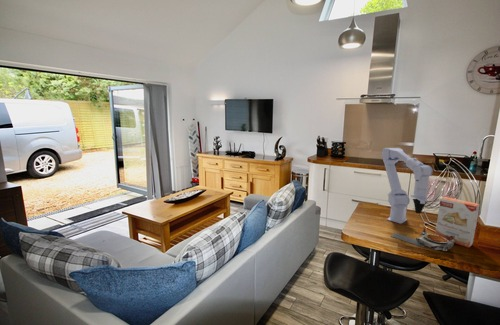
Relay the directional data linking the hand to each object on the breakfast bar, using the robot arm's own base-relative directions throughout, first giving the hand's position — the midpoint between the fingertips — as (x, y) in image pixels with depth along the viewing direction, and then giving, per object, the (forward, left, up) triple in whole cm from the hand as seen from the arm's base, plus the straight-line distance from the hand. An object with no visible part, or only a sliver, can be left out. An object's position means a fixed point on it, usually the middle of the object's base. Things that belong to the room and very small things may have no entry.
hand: (418, 213), depth 133 cm
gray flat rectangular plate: (+14, +1, -10) cm, 18 cm away
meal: (+9, +4, -8) cm, 12 cm away
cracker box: (-2, +16, -11) cm, 19 cm away
